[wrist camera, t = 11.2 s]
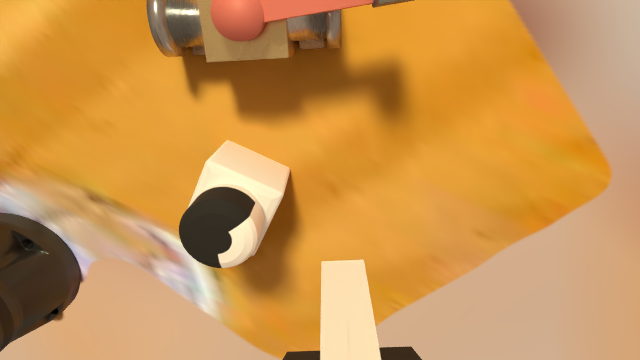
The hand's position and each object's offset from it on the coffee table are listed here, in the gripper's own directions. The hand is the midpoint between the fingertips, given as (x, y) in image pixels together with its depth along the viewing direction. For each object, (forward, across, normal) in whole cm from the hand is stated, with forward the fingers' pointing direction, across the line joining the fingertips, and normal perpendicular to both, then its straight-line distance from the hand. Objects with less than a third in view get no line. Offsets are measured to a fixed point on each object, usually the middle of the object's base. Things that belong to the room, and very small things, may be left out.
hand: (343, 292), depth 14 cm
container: (+29, -10, -6) cm, 31 cm away
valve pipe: (+28, -7, +11) cm, 31 cm away
